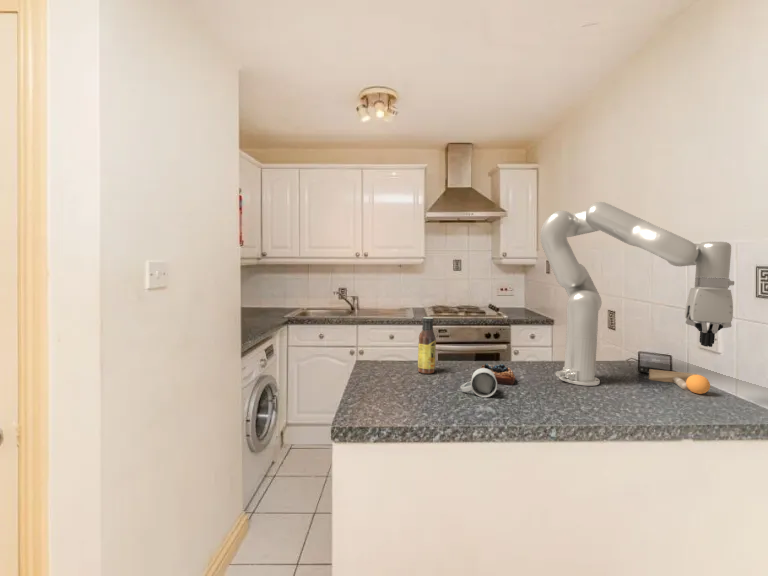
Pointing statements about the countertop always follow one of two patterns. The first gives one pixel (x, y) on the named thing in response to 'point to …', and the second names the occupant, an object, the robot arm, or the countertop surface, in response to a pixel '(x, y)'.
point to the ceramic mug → (481, 383)
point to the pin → (680, 383)
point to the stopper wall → (667, 375)
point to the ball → (698, 384)
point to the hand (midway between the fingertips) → (706, 345)
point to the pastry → (501, 374)
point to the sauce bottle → (426, 347)
